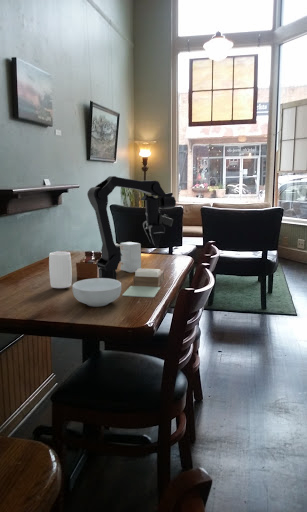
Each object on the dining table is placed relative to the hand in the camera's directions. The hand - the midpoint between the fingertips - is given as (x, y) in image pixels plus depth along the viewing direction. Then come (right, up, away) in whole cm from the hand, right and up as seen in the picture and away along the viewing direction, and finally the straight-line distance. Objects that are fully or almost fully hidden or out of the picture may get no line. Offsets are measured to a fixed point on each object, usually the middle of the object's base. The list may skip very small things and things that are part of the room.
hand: (154, 246), depth 185 cm
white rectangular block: (-3, -12, -13) cm, 18 cm away
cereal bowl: (-20, -21, -37) cm, 47 cm away
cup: (-37, -17, -18) cm, 44 cm away
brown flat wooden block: (-2, -15, -9) cm, 18 cm away
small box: (-11, -11, +15) cm, 22 cm away
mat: (-5, -18, -23) cm, 29 cm away
